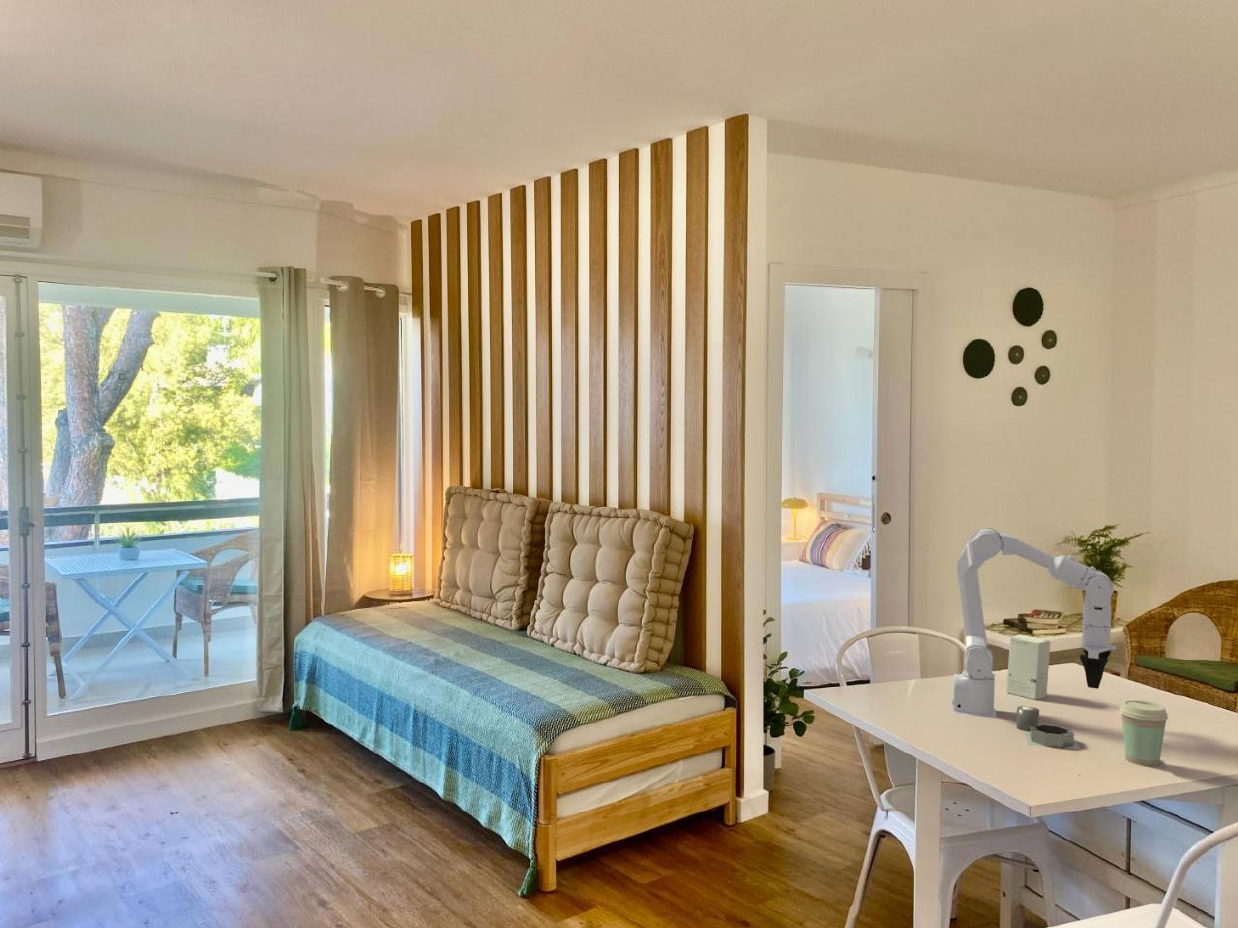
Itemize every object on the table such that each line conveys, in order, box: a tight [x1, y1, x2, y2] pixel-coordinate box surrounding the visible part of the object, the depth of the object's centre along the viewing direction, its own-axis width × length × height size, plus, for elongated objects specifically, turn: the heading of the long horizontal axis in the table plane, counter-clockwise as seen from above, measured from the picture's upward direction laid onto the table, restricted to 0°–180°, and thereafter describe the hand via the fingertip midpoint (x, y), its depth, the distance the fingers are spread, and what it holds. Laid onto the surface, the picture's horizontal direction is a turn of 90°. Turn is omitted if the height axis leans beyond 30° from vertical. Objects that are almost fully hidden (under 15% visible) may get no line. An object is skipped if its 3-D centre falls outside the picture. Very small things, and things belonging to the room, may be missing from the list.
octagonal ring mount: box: [1029, 722, 1075, 749], centre depth 200 cm, size 8×8×2 cm
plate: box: [1024, 732, 1081, 751], centre depth 200 cm, size 10×8×1 cm
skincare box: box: [1005, 634, 1051, 700], centre depth 239 cm, size 8×6×15 cm
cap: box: [1016, 705, 1040, 733], centre depth 209 cm, size 5×5×5 cm
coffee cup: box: [1119, 699, 1169, 767], centre depth 188 cm, size 9×8×12 cm
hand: (1094, 683), depth 212 cm, fingers open, 7 cm apart
